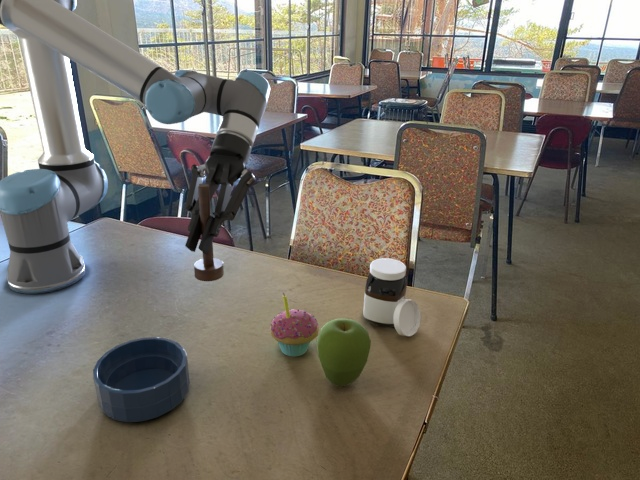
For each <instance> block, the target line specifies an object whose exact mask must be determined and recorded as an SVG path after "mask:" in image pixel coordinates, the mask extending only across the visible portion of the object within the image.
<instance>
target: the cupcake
mask: <svg viewBox="0 0 640 480" xmlns="http://www.w3.org/2000/svg"><path fill="white" fill-rule="evenodd" d="M282 301H283V306H284V311H281V312H279V313H278V314H276V315H275V316H273V319H271V322H270V327H269V330H270V331H269V332H270V336H271V337H272V338H274V340H275V341H276V342H277V343H278V346H279V348H280V351H281V352H282V354H284V355H285V356H288V357H300V356H302V355H305V353H307V351H308V348H309V346H310V344H311V342H312V341H314V340H315V339H317V338H318V336H319V332H320V331H319V330H320V327H319V323H318V321H317V319H316V318H315V315H313V314H311V313H309V312H308V311H307V310H302V309H290V307H289V302H288V297H287V295H285V292H284V291H282Z"/></svg>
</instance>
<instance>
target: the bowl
mask: <svg viewBox="0 0 640 480" xmlns="http://www.w3.org/2000/svg"><path fill="white" fill-rule="evenodd" d="M92 374H93V376H92V377H93V379H92V380H93V383H94V389H95V393H96V397H97V403H98V407H99V408H100V410H101V411H102V413H103V414H104V415H105V416H107V417H109V418H110V419H112V420H114V421H119V422H125V423H136V422H137V423H138V422H146V421H148V420H153V419H157V418H158V417H161V416H163V415H165V414H166V413H169V412H170V411H172V410H174V409H175V408H176V407H178V405H180V404H181V403H182V402H183V401H184V399H185V397H186V396H187V394H188V393H189V389H190V384H191V382H190V372H189V364H188V354H187V351H186V349H185V348H184V347H183V346H182V345H181V344H180V343H179V342H177V341H174V340H172V339H170V338H166V337H159V336H151V337H150V336H148V337H139V338H135V339H131V340H127V341H126V342H123V343H119V344H118V345H116V346H114V347H112V348H110V349H109V350H107V351H106V352H105V353H103V355H102V356H101V357H100V358H99V359H98V360H97V361H96V363H95V365H94V367H93V369H92Z"/></svg>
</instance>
